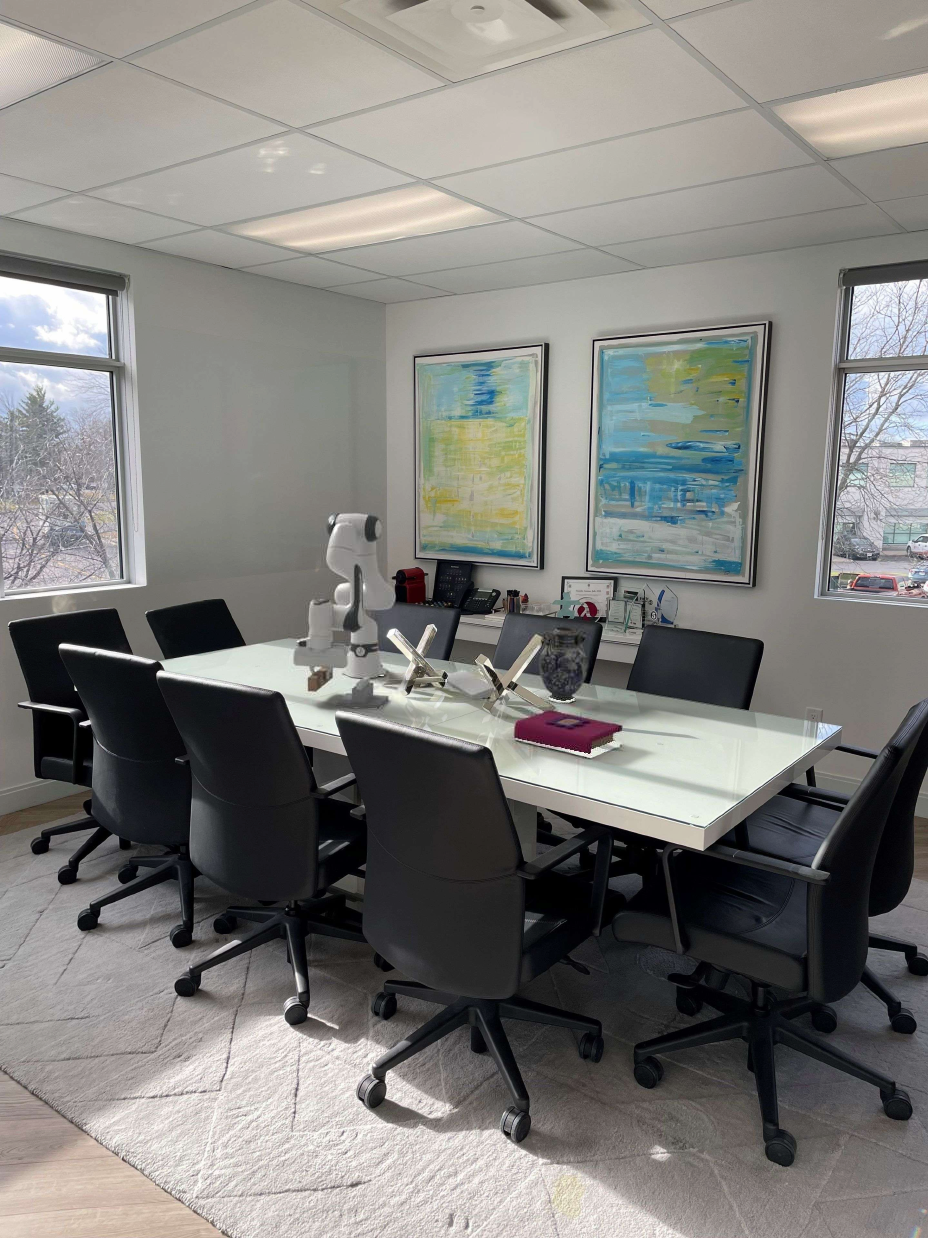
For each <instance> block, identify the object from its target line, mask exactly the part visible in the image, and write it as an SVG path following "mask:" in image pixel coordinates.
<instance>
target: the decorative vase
mask: <svg viewBox="0 0 928 1238" xmlns="http://www.w3.org/2000/svg"><path fill="white" fill-rule="evenodd" d="M541 638H542V639H541V641H542V643H544V645H545V647H544V649H542V650H541V653H540V655H539V660H538V661H539V662H538V667H539V674H540V678H541V681H542V683H543V685H544V687H545V689H546V690H547V691H548V692H549V693H551V694H550V695H549V696H548V697H550V698H553V699H556V700H561V701H566V700H571V699H573V698H575V697H574V696H573V695H574V694H575V693H577V692H578V691H579V690H580V689H581V687H582V685H583V683H584V682H585V679H586V676H587V674H588V673H587V672H588V667H589V658H588V655H587V653H586V651H585V650H584V645H583V642H585V640H587V631H586V629H583V628H582V629H581V628H580V629H579V630H578V631H577V630H576V628H574V627H573V628H572V627H567V626H565V627H563V626H559V627H555V629H554V630H552V632H551V631H550V630H545V631H543V633H542V635H541Z"/></svg>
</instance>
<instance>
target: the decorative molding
mask: <svg viewBox="0 0 928 1238" xmlns="http://www.w3.org/2000/svg"><path fill="white" fill-rule="evenodd" d="M447 675H448V678H447V683H446V684H448V685H450V686H451V687H453V688H455V689H456V690H458V691H459V692H460V693H462V694H464V695H466V696H467V697H469V698H470V699H472V700H483V699H484V698H485V699H489V698H488V697H490V696H491V695H492V694H493V692H494V688H493V684H490V683H489V682H487V681H485V680H483V679H482V678H480V677H478V676H477V675H474V674H472V673H470V672H469V671H467V670H466V669H461V670H457V671H455V672H452V673H449V674H447Z"/></svg>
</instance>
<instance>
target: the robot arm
mask: <svg viewBox="0 0 928 1238" xmlns="http://www.w3.org/2000/svg"><path fill="white" fill-rule="evenodd" d="M326 532H327V535H328V536H329V541H328V546H327V550H326V551H327V552H326V556H325V557H326V559H325V560H326V564H327V566H328V568H329V569H330V570H331V571H332V572H334V573H335V574H337V575H339V576H341V577H343V578H344V579H347V581H348V582H343V583H340V584H338V585H337V587H336V588H335V591H334V596H333V597H334V600H335V603H336V604H334V603H332V600H331V599H330V598H328V597H316V598H314V599H312V600H311V601H310V602H309V610H308V625H309V631H308V636H305V637H303V638H300V639H298V640H297V641H295V648H294V651H293V656H292V657H293V659H292V660H293V662H292V663H293V664H294V666H295V667H296V666H299V667H300V666H301V667H309V672H310V673H311V675H312V674H313V673H315V672H316V671H315V668H317V667H318V668H322V667H327V670H328V672H327V673H325V674H324V679H329V673H330V672H331V670H332V668H333V669H344V670H342V671H341V674H342V675H345V676H347V677H351V678H356V679H357V678H358V679H363V678H364V677H370V679H373V678H379V677H378V676H380V675H385V674H386V675H387V672H388V671H387V670H388V669H387V667H386V666H383V664H382V663H383V661H382V656H381V653H380V652H379V650H380V649H379V646H380V645H379V644H380V643H379V640H378V624H377V622H376V621H375V620H374V619H372V618H371V617H369V616H368V615H367V614H366V612H365V610H370V611H384V610H391V609H392V607H393V606H394V604H395V602H396V597H397V596H396V591H395V590H394V588H393V587H392V586H391V585H389V584H388V583H387V582H386V581H385V579H383V577H382V575H381V574H380V571H379V567H378V559H377V558H378V557H377V555H378V554H377V544H376V541H377V540H378V539H379V538H380V536H381V534H382V521H381V520H380V518H379V517H378V516H376V515H373V514H364V513H363V514H362V513H356V512H355V513H340V512H339V513H333V514H331V515H330V516H329V518H328V519H327V521H326ZM333 631H342V632H347V633H350V641H349V648H348V645H346V644H345V643H342V642H340V643H339V642H334V639H333V637H334V635H333V633H334V632H333Z"/></svg>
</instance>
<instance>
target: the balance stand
mask: <svg viewBox="0 0 928 1238" xmlns="http://www.w3.org/2000/svg"><path fill="white" fill-rule="evenodd" d="M370 679H371V678H370V677H364V678H360V680H359V681H357V682H356V684H355V685H354V687H352V688H351V693H350V692H349V693H348V692H347V693H346V694H344V695H343V696H342V697H341V698H339V699H338V700H337V701H336V702H335V707H340V708H341V707H342V708H353V707H358V708H357V709H367V708H377V709H376V710H380V709H381V708H382V707H383V706H384V705H385V704H386V703H387V702H388V701H389V696H390V695H379V694H374V682H370ZM381 706H382V707H381ZM380 707H381V708H380ZM379 708H380V709H379Z"/></svg>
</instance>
